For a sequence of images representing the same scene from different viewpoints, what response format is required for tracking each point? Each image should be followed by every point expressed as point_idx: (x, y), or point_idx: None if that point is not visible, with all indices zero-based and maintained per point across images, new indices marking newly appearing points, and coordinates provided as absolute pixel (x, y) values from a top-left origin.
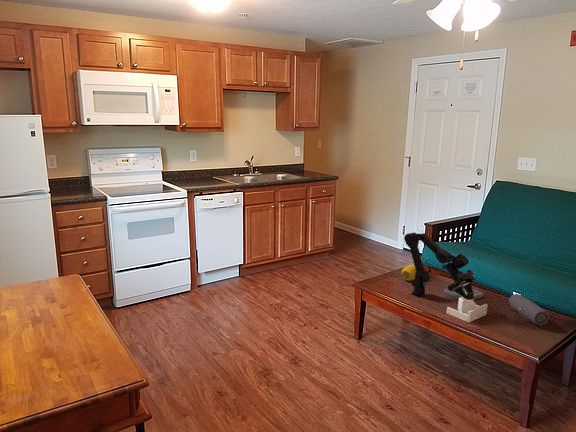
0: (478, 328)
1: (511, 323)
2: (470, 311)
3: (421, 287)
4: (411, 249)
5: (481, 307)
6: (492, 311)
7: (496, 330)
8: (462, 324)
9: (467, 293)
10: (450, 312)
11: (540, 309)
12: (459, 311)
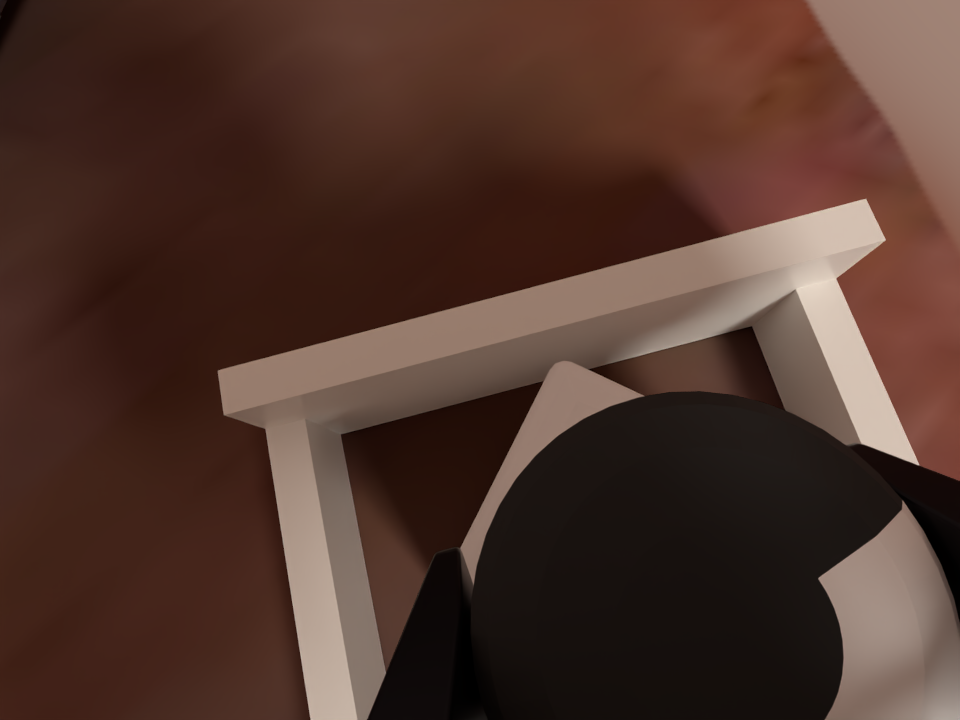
0: (757, 116)
1: (226, 103)
2: (836, 222)
3: None
4: None
5: (450, 311)
6: (120, 465)
7: (564, 20)
8: (915, 269)
9: (853, 530)
10: None
11: None
12: None
